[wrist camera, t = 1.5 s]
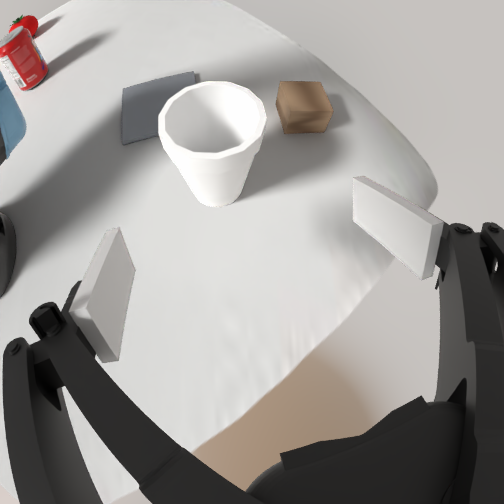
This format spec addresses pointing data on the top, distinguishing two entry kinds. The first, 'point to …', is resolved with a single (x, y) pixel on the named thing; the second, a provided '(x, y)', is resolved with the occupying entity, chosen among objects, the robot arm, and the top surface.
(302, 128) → the walnut block
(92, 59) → the top surface
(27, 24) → the tomato
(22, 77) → the soda can
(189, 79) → the mat
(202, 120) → the foam cup
